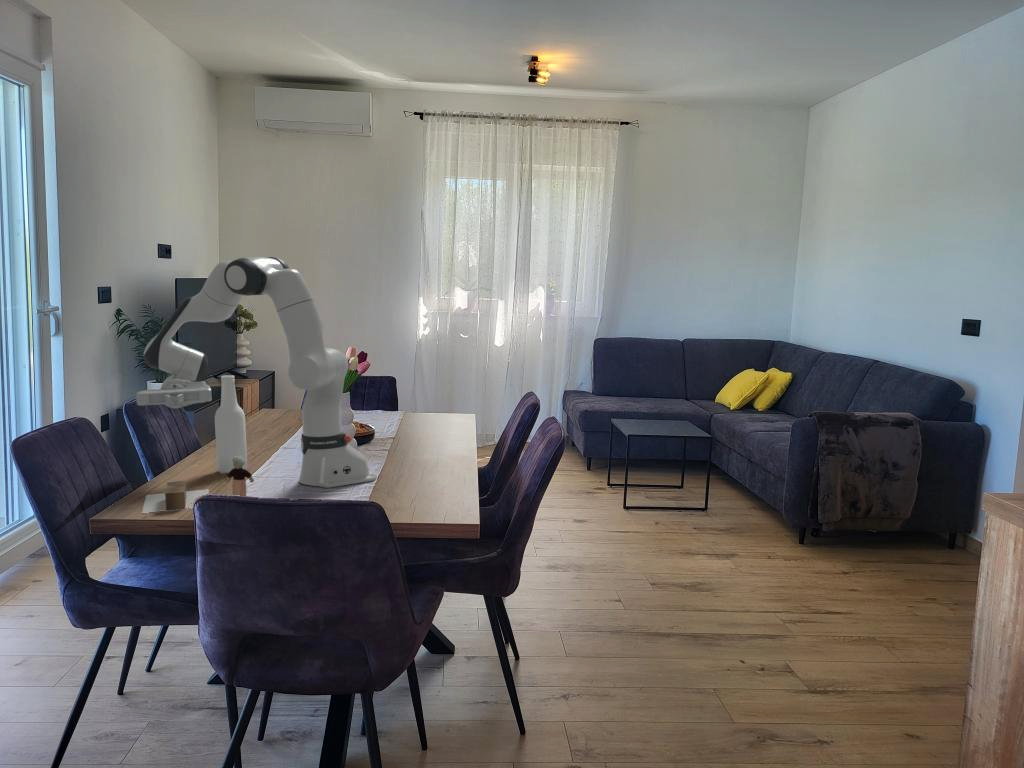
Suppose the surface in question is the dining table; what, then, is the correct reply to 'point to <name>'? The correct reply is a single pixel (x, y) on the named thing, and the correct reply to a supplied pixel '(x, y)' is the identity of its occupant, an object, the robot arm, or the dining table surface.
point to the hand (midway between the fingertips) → (173, 399)
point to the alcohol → (229, 428)
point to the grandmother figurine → (239, 476)
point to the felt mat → (159, 501)
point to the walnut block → (175, 495)
